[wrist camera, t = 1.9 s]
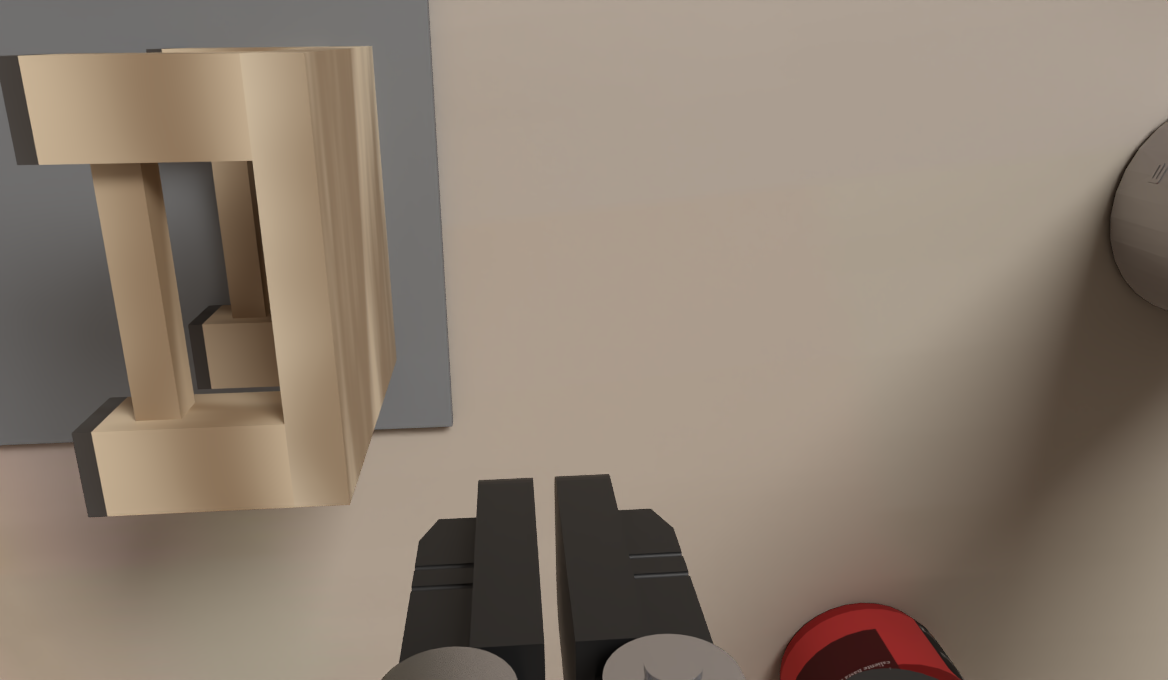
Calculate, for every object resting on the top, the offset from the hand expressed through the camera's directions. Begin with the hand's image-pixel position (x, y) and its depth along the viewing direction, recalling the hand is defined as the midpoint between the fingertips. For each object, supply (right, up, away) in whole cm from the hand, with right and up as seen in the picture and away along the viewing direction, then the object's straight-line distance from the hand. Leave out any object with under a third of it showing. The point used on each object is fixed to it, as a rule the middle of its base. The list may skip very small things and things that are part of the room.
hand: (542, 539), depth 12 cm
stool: (-11, +7, +22) cm, 26 cm away
